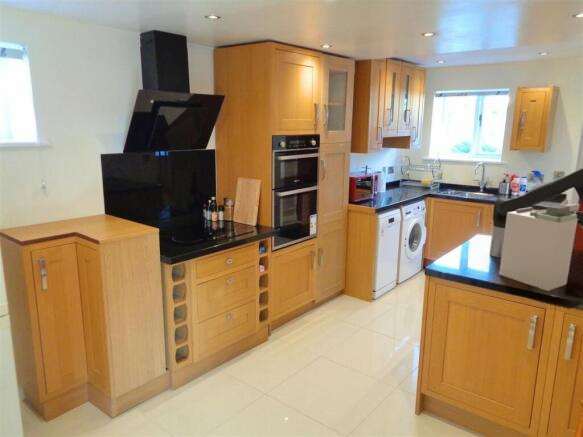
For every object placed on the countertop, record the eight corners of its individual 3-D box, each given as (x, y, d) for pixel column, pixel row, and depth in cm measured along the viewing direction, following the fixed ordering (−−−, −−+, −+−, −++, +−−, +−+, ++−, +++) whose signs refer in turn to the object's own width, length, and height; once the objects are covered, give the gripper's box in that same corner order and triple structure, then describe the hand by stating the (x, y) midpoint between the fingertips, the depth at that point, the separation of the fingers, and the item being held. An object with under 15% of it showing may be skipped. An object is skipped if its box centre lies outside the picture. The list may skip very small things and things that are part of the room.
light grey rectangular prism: (569, 212, 205) (571, 202, 204) (580, 214, 201) (582, 204, 200) (545, 217, 195) (547, 206, 193) (556, 219, 190) (558, 208, 189)
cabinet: (517, 268, 220) (526, 205, 213) (566, 284, 200) (578, 214, 192) (499, 274, 213) (507, 208, 205) (547, 290, 192) (559, 218, 185)
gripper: (576, 212, 217) (563, 199, 209) (607, 218, 206) (595, 204, 197) (570, 225, 217) (557, 213, 208) (601, 232, 205) (589, 219, 196)
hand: (576, 209), depth 203 cm, fingers open, 8 cm apart
